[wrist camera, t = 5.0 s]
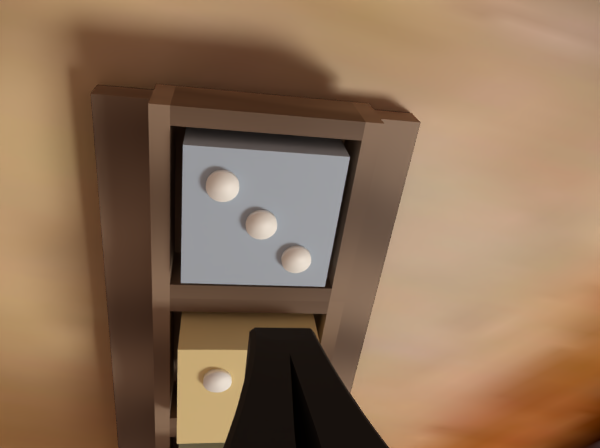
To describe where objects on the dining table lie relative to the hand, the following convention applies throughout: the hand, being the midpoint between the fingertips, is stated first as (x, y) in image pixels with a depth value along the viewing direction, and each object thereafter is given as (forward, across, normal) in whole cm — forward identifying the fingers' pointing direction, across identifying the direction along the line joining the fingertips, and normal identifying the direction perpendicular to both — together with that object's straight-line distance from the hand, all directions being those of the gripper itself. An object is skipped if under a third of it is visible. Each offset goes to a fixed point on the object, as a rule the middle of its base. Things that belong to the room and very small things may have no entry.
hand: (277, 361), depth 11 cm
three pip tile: (+8, 0, 0) cm, 8 cm away
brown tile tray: (+9, 0, +7) cm, 12 cm away
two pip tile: (+7, 0, +7) cm, 10 cm away
